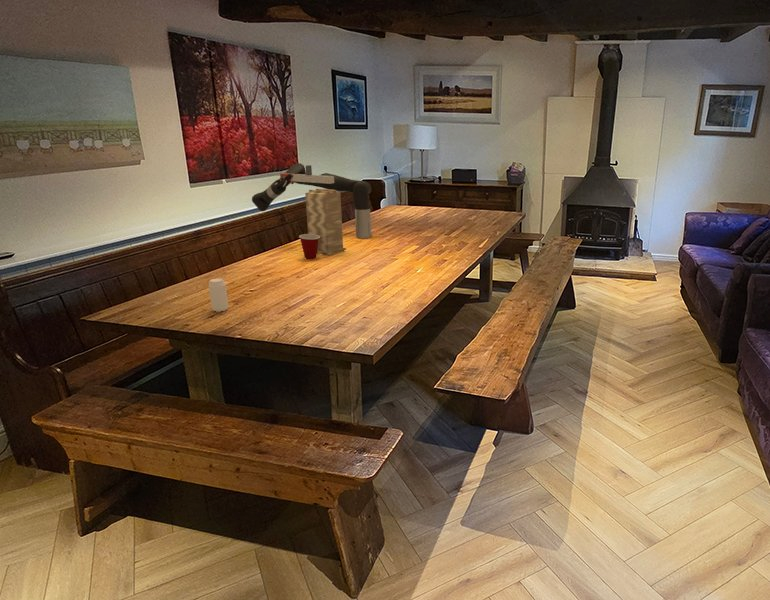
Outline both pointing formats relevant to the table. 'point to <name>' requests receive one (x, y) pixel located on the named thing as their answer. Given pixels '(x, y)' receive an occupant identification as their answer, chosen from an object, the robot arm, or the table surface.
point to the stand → (325, 219)
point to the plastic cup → (309, 245)
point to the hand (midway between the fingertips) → (293, 174)
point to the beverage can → (218, 295)
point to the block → (309, 177)
